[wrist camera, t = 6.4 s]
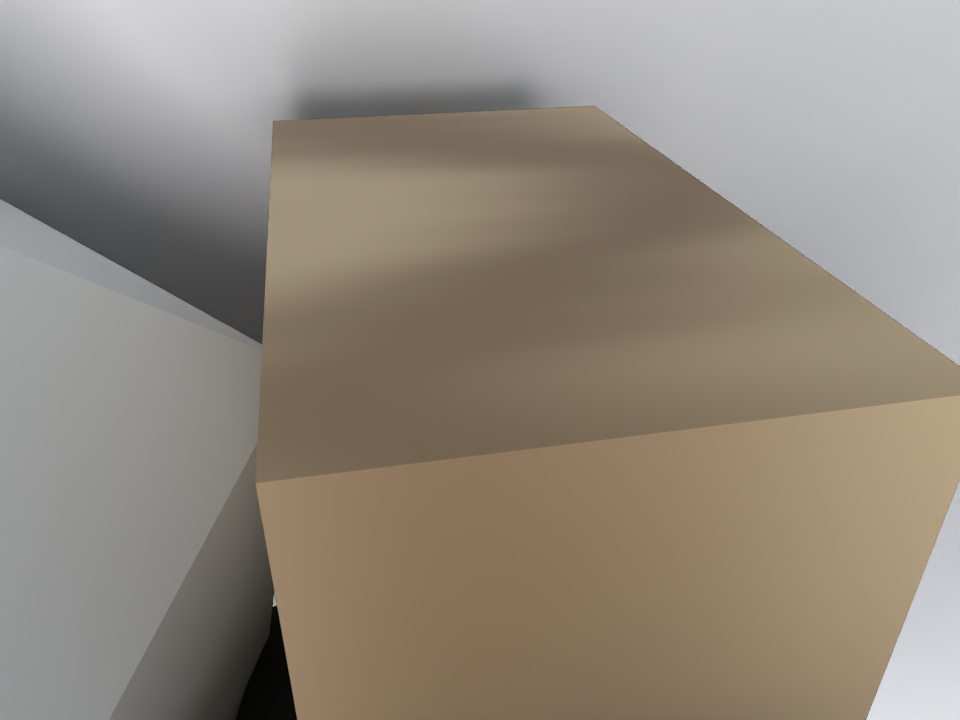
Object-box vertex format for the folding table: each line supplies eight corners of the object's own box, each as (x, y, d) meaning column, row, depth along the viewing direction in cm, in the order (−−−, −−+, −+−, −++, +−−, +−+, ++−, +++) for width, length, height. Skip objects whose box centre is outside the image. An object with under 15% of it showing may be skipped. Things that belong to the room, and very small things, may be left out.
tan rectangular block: (594, 105, 9) (994, 390, 4) (546, 759, 15) (678, 1202, 10) (273, 121, 8) (255, 484, 3) (358, 796, 14) (397, 1287, 9)
